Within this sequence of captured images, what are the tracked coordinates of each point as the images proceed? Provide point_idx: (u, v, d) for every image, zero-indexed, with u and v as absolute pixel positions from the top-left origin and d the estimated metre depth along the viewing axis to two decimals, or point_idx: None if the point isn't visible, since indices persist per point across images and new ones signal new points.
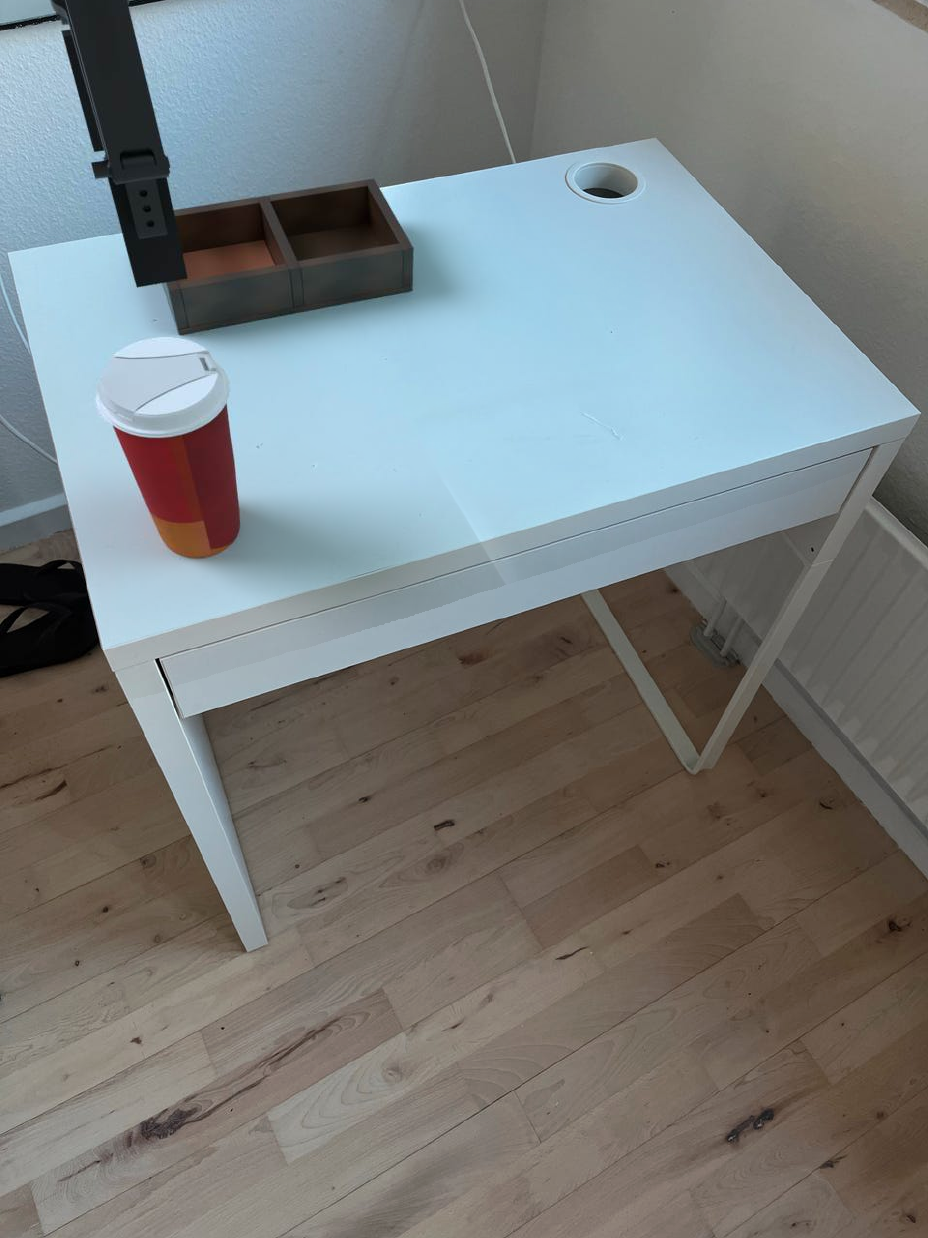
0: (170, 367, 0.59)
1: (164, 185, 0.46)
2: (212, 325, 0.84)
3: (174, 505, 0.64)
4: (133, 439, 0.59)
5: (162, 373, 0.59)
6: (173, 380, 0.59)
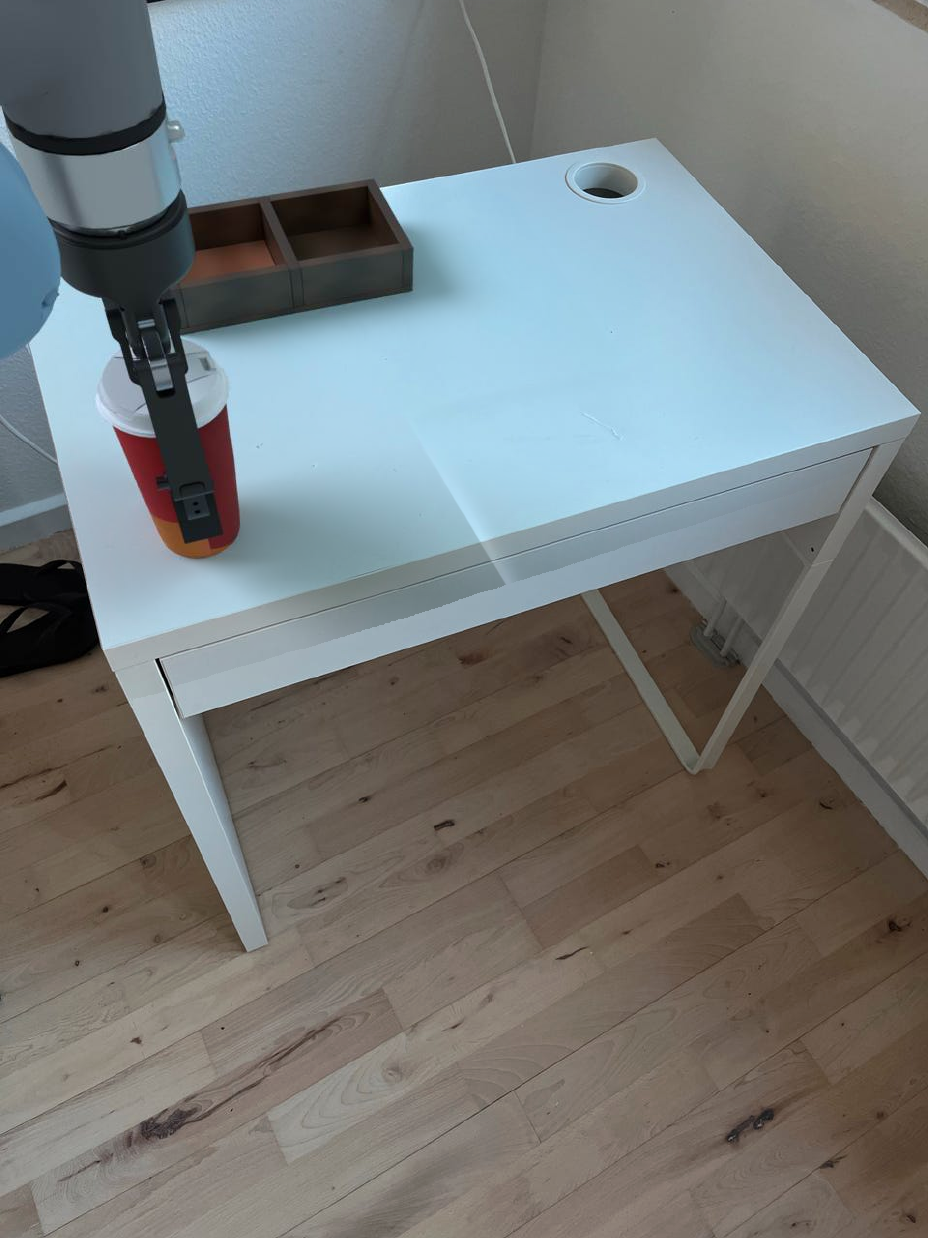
0: None
1: None
2: (212, 325, 0.84)
3: None
4: (133, 439, 0.59)
5: None
6: None
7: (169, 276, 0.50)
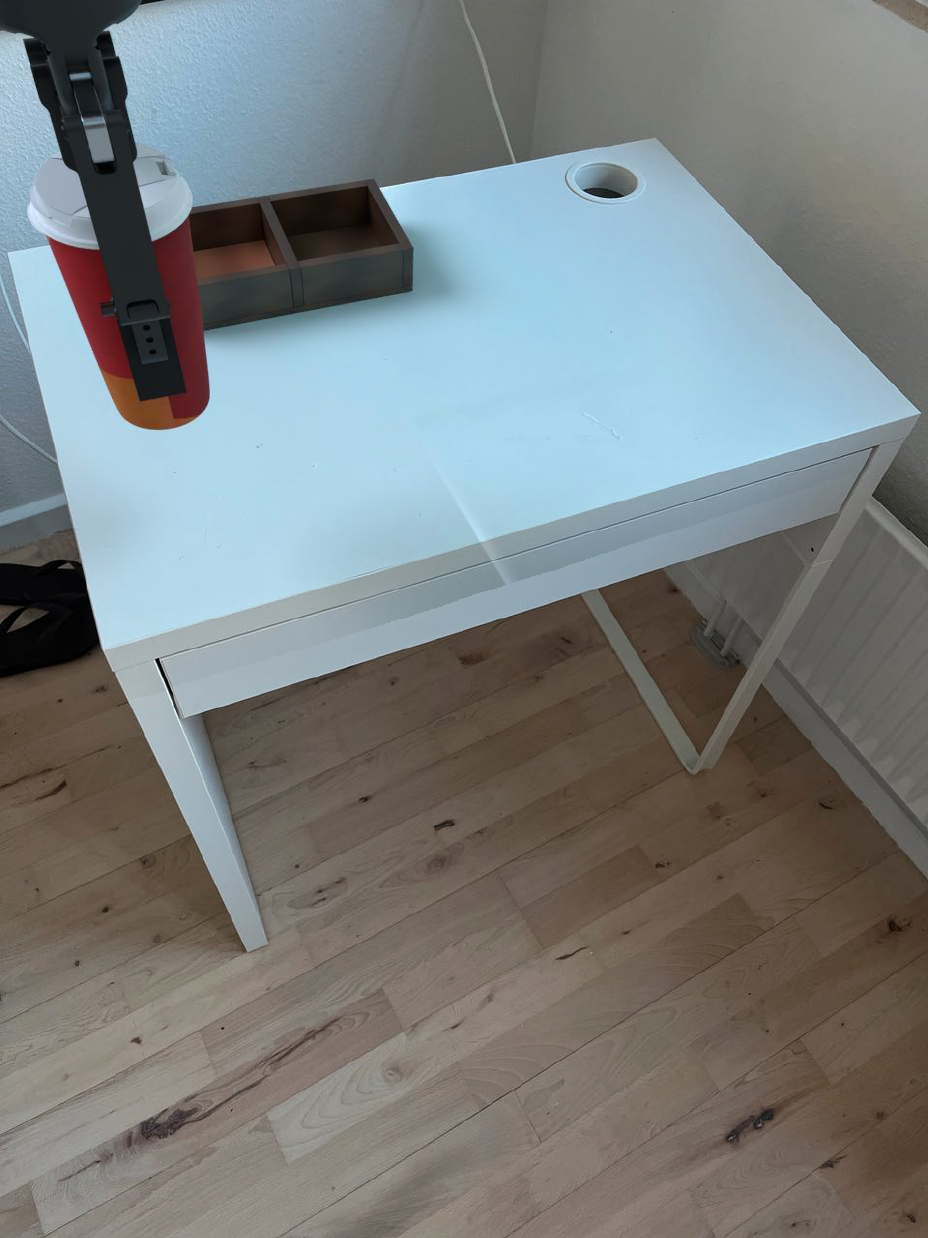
0: None
1: None
2: (212, 325, 0.84)
3: None
4: (73, 256, 0.48)
5: None
6: None
7: (107, 8, 0.40)
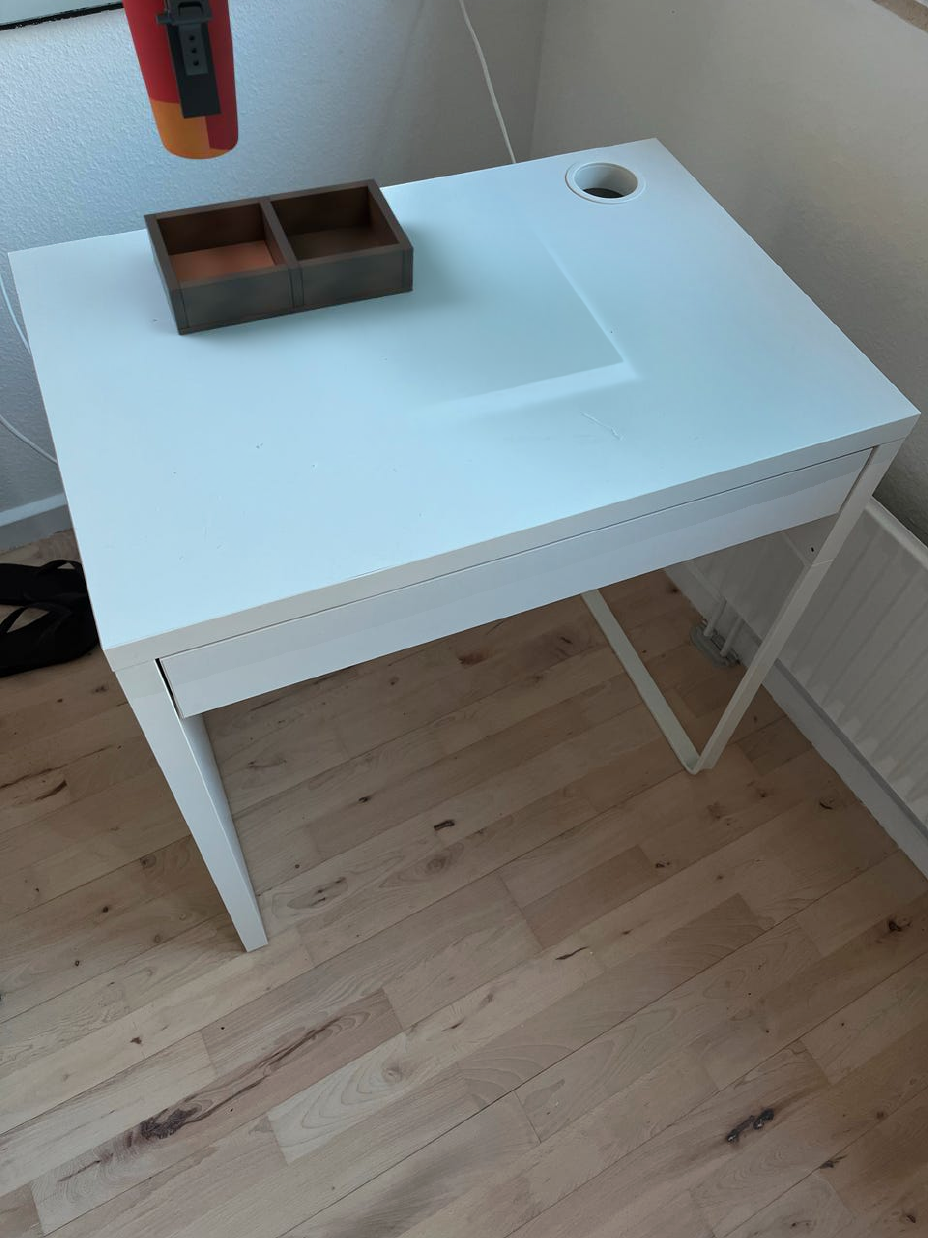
0: None
1: (206, 34, 0.64)
2: (212, 325, 0.84)
3: (174, 75, 0.66)
4: None
5: None
6: None
7: None
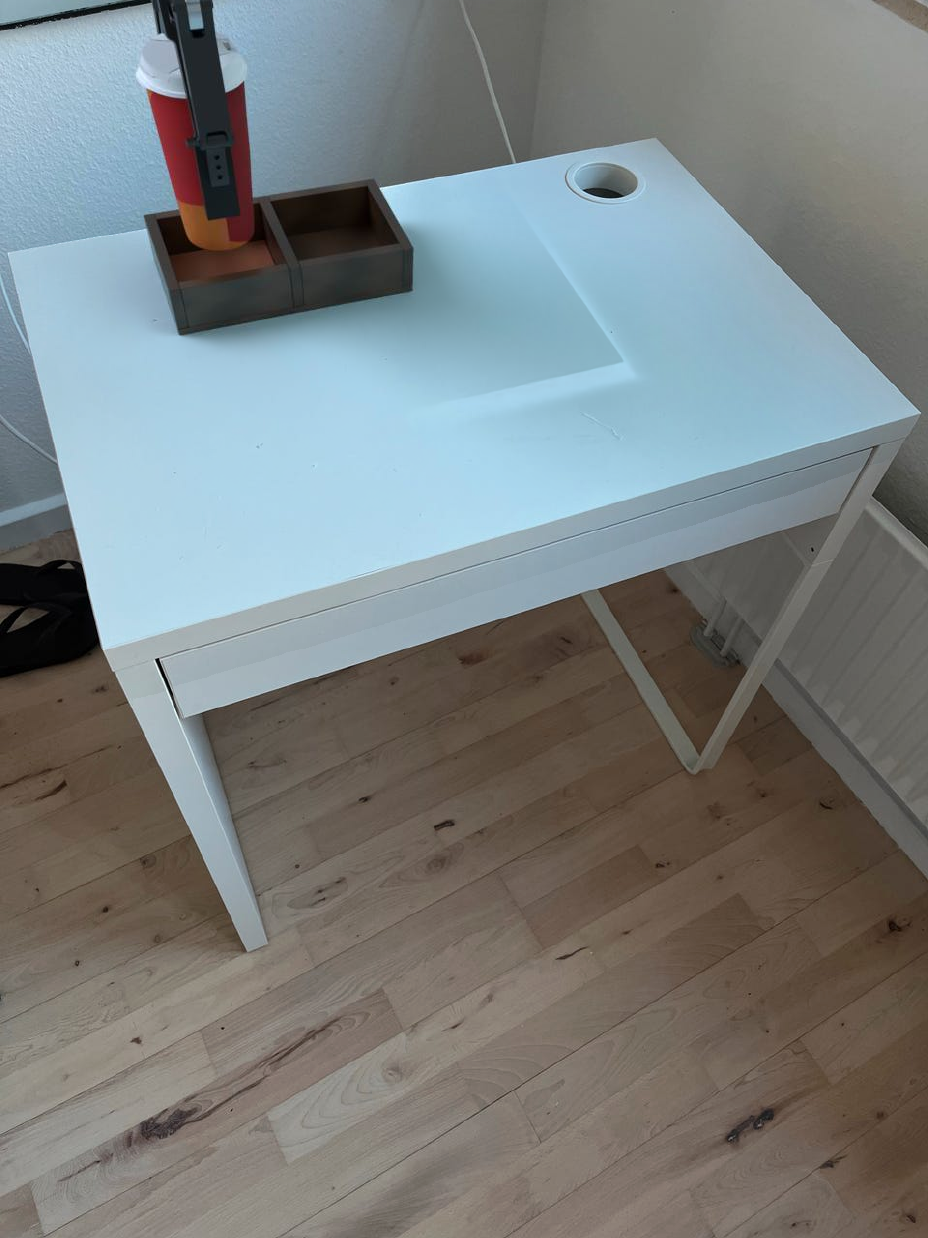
0: None
1: (228, 152, 0.73)
2: (212, 325, 0.84)
3: None
4: (167, 105, 0.71)
5: None
6: None
7: None
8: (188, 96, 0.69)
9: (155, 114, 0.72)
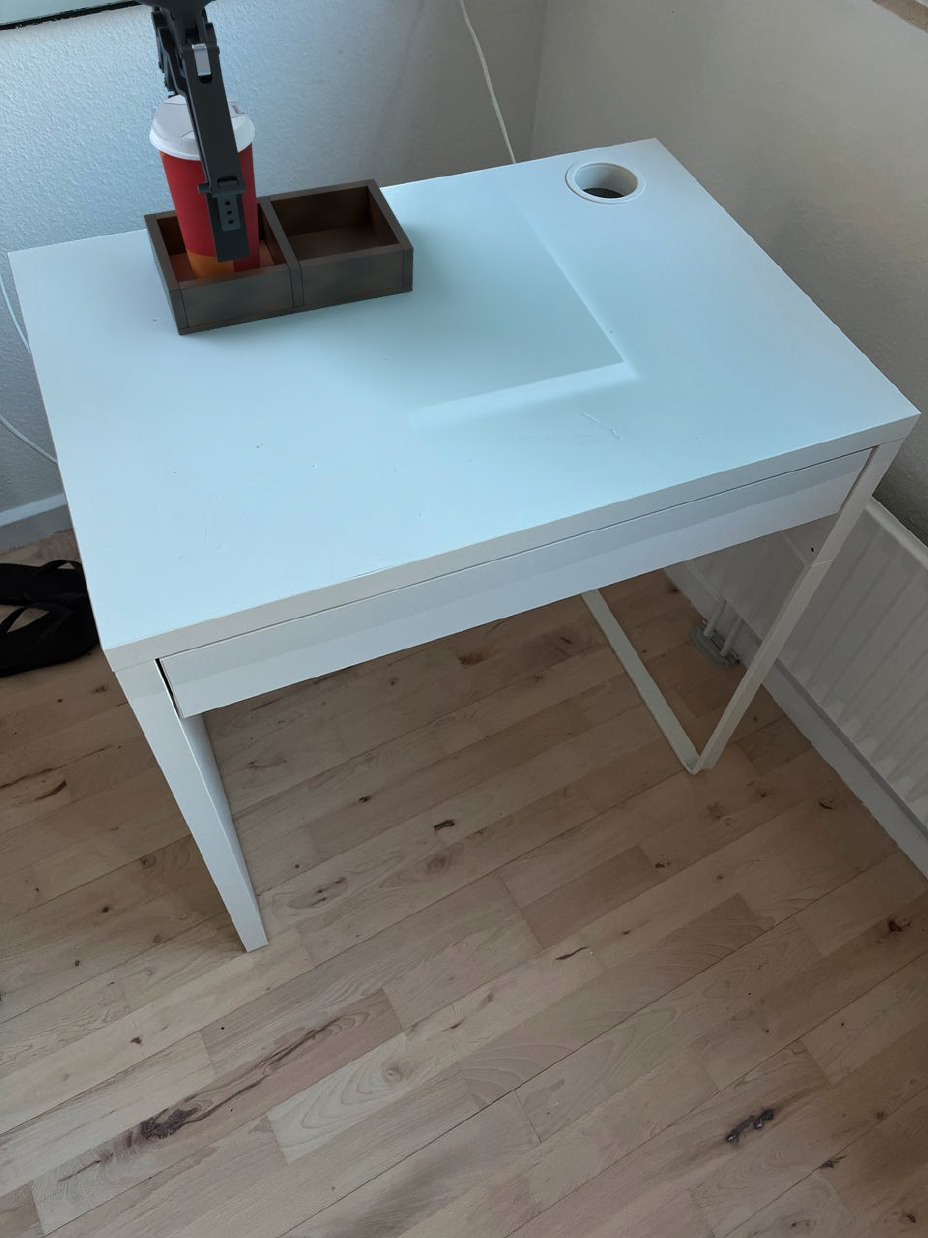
0: None
1: (239, 197, 0.74)
2: (212, 325, 0.84)
3: (209, 236, 0.80)
4: (179, 165, 0.74)
5: None
6: None
7: None
8: (198, 143, 0.70)
9: (167, 173, 0.76)
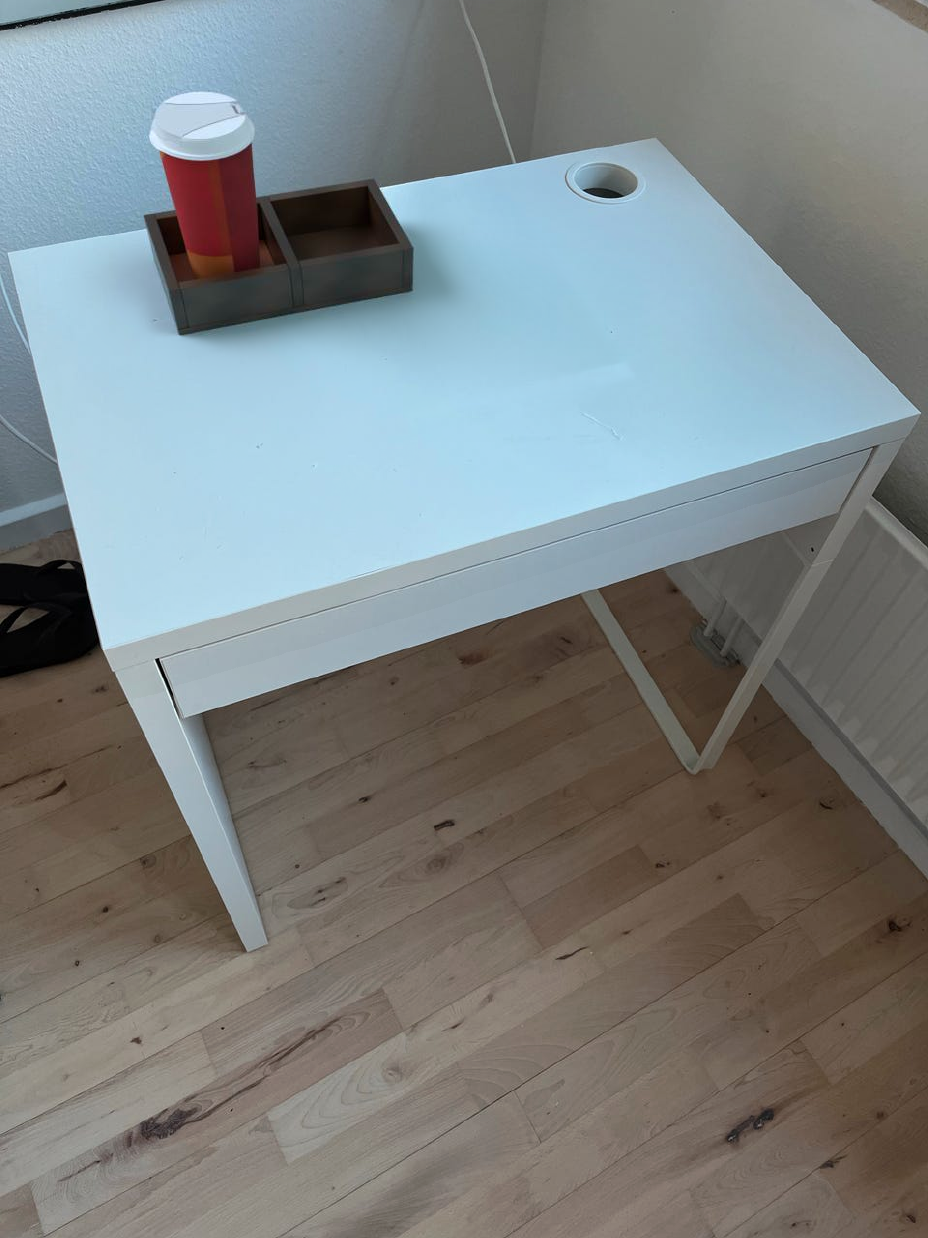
0: (208, 110, 0.75)
1: None
2: (212, 325, 0.84)
3: (209, 236, 0.80)
4: (179, 165, 0.74)
5: (202, 113, 0.75)
6: (211, 118, 0.74)
7: None
8: None
9: (167, 173, 0.76)
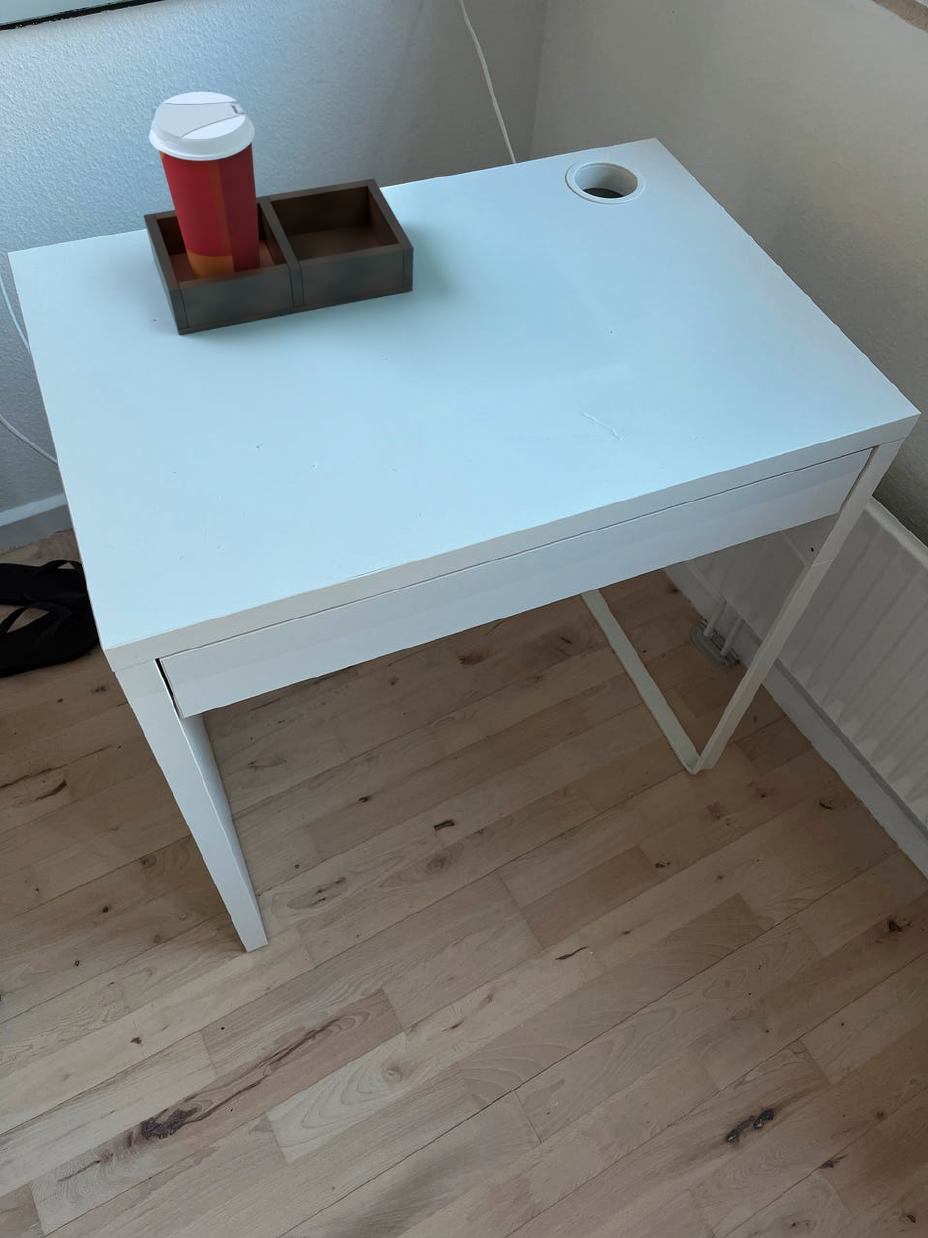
0: (208, 110, 0.75)
1: None
2: (212, 325, 0.84)
3: (209, 236, 0.80)
4: (179, 166, 0.74)
5: (202, 114, 0.75)
6: (210, 118, 0.74)
7: None
8: None
9: (167, 173, 0.76)
